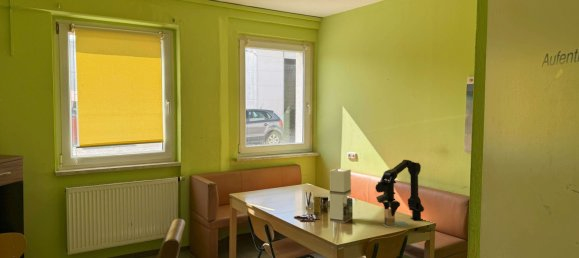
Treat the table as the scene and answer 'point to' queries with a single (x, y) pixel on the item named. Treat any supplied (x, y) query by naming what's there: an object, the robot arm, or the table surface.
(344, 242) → the table surface
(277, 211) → the table surface
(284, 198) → the table surface
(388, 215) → the terracotta cube
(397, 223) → the plan board
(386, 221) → the walnut cube
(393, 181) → the robot arm
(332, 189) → the cream tall block
